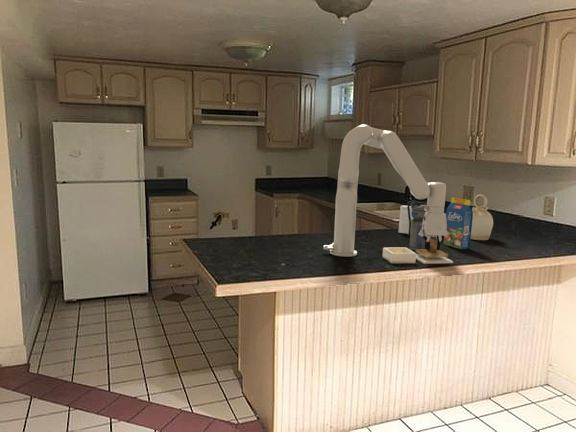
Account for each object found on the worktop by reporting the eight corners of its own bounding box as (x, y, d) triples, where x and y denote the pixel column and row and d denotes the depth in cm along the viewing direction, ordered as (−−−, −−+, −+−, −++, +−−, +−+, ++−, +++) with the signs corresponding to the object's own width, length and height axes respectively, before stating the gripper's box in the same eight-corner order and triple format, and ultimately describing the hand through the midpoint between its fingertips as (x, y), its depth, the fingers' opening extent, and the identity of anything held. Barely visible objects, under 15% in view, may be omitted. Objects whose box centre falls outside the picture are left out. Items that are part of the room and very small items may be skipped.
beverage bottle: (405, 246, 237) (409, 197, 233) (432, 249, 232) (436, 199, 228) (402, 250, 227) (406, 199, 223) (431, 253, 223) (435, 202, 219)
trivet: (423, 263, 204) (423, 261, 204) (410, 255, 218) (410, 253, 218) (453, 263, 206) (453, 261, 206) (437, 255, 220) (438, 253, 220)
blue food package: (451, 243, 247) (455, 197, 242) (469, 248, 236) (474, 200, 232) (442, 244, 244) (447, 197, 239) (461, 249, 233) (465, 200, 229)
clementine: (396, 259, 207) (397, 252, 206) (393, 257, 210) (394, 250, 209) (403, 259, 207) (404, 252, 207) (400, 257, 211) (401, 250, 210)
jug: (478, 234, 273) (482, 192, 269) (497, 240, 259) (502, 196, 254) (456, 235, 268) (460, 192, 264) (475, 241, 254) (479, 196, 250)
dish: (391, 263, 203) (392, 253, 202) (382, 257, 213) (383, 247, 212) (415, 263, 204) (416, 253, 204) (404, 256, 215) (405, 247, 214)
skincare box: (436, 236, 266) (439, 208, 263) (434, 237, 261) (436, 209, 258) (401, 231, 277) (403, 204, 274) (397, 232, 272) (399, 205, 269)
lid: (426, 257, 206) (427, 241, 204) (415, 251, 216) (417, 236, 215) (447, 257, 207) (449, 241, 206) (436, 251, 218) (438, 236, 216)
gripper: (421, 211, 203) (418, 251, 206) (456, 211, 206) (453, 251, 209) (414, 208, 210) (411, 247, 214) (448, 208, 213) (444, 247, 216)
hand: (432, 249), depth 211 cm, fingers closed on lid, 4 cm apart
